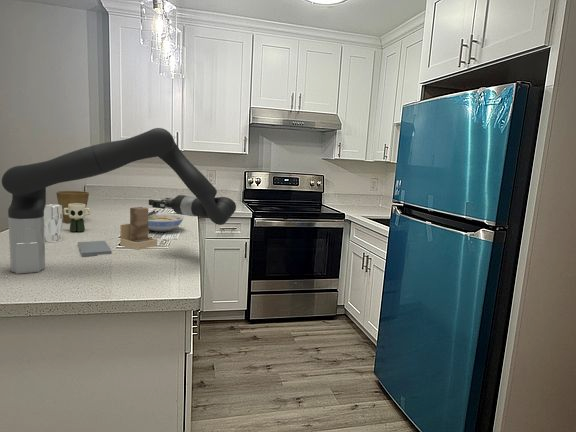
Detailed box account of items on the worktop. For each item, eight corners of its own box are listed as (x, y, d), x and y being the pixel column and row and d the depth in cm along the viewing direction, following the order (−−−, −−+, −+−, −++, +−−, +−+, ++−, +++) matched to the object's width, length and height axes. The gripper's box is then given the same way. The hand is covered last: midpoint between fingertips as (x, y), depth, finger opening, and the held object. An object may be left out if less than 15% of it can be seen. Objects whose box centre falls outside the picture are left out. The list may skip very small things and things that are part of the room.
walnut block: (147, 245, 159) (148, 208, 156) (138, 247, 154) (138, 209, 152) (139, 243, 161) (140, 206, 159) (129, 245, 157) (130, 207, 154)
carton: (167, 246, 161) (167, 225, 160) (136, 253, 147) (136, 230, 146) (146, 241, 167) (146, 221, 166) (114, 247, 153) (114, 225, 152)
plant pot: (90, 224, 195) (90, 193, 193) (57, 225, 187) (56, 193, 185) (88, 219, 208) (87, 190, 205) (56, 220, 200) (56, 190, 197)
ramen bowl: (176, 237, 180) (176, 220, 178) (128, 234, 179) (128, 217, 178) (189, 227, 204) (189, 213, 203) (147, 224, 204) (147, 210, 203)
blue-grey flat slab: (111, 254, 143) (111, 250, 143) (82, 257, 137) (81, 253, 137) (104, 244, 158) (104, 240, 157) (77, 245, 152) (77, 242, 152)
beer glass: (59, 238, 162) (58, 203, 160) (66, 241, 158) (65, 206, 156) (41, 240, 157) (40, 204, 155) (47, 243, 153) (46, 207, 151)
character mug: (63, 233, 172) (62, 205, 170) (65, 230, 178) (64, 203, 176) (89, 232, 176) (89, 205, 174) (90, 229, 183) (90, 203, 181)
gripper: (201, 194, 148) (171, 191, 155) (174, 197, 135) (143, 192, 143) (200, 213, 149) (170, 208, 157) (174, 217, 137) (143, 212, 144)
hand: (157, 201), depth 150 cm, fingers open, 8 cm apart
